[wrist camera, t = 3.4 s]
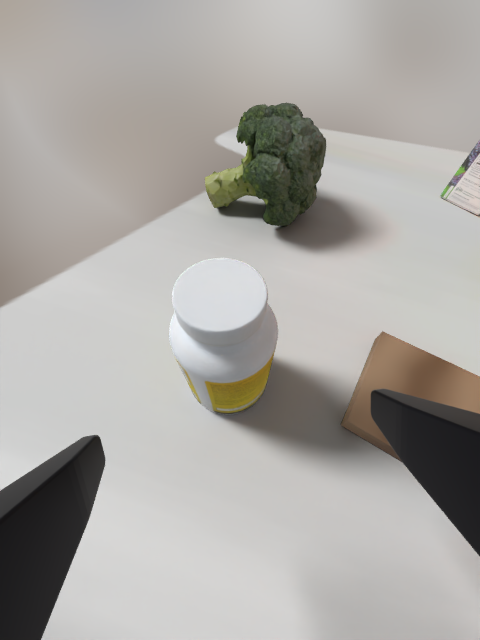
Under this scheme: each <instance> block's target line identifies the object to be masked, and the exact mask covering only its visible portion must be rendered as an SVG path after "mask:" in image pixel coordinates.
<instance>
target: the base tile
mask: <svg viewBox="0 0 480 640" xmlns="http://www.w3.org/2000/svg"><path fill="white" fill-rule="evenodd" d="M376 389H388V390H392V391H396V392H400V393H403V394H407V395H411V396H415V397H419V398H422V399H426V400H430V401H434V402H438V403H441V404H445V405H449V406H453V407H457V408H460V409H464V410H468V411H472V412H476V413H479V414H480V377H479V376H477V375H475V374H473V373H471V372H469V371H466V370H464V369H462V368H460V367H458V366H456V365H454V364H451V363H449V362H447V361H445V360H443V359H441V358H439V357H436V356H434V355H432V354H430V353H428V352H426V351H424V350H421V349H419V348H417V347H415V346H413V345H411V344H409V343H406V342H404V341H402V340H400V339H398V338H396V337H394V336H391V335H389V334H387V333H385V332H383V331H382V333H381V334H380V335H379V336H378V337H377V338H376V339H375V341H374V343H373V346H372V348H371V351H370V353H369V356H368V358H367V361H366V363H365V366H364V368H363V371H362V373H361V376H360V378H359V381H358V383H357V386H356V388H355V391H354V393H353V396H352V398H351V401H350V403H349V406H348V408H347V411H346V413H345V416H344V418H343V421H342V423H341V426H343V427H344V428H346V429H348V430H350V431H351V432H353V433H355V434H356V435H358V436H360V437H361V438H363V439H365V440H366V441H368V442H370V443H371V444H373V445H375V446H376V447H378V448H380V449H381V450H383V451H385V452H386V453H388V454H390V455H391V456H393V457H395V458H396V459H398V460H400V458H399V457H398V455H397V454H396V453H395V451H394V450H393V448H392V447H391V445H390V444H389V442H388V441H387V439H386V438H385V437H384V435H383V434H382V432H381V431H380V429H379V428H378V426H377V425H376V423H375V422H374V420H373V419H372V416H371V411H370V409H371V392H372V391H373V390H376ZM400 461H401V460H400ZM401 462H402V461H401Z"/></svg>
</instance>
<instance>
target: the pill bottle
mask: <svg viewBox="0 0 480 640" xmlns="http://www.w3.org/2000/svg"><path fill="white" fill-rule="evenodd" d="M267 300H268V291H267V286H266V283H265V281H264V279H263V277H262V276H261V275H260V274H259V272H258V271H257V270H256V269H254V268H253V267H252V266H250V265H248V264H246V263H244V262H242V261H239V260H235V259H230V258H214V259H208V260H204V261H201V262H199V263H196V264H194V265H192V266H191V267H189V268H188V269H186V270H185V271H184V272H183V273H182V274H181V275H180V276H179V278H178V279H177V281H176V283H175V285H174V287H173V292H172V303H173V307H174V310H175V312H174V315H173V317H172V320H171V323H170V329H169V339H170V345H171V348H172V351H173V354H174V356H175V358H176V360H177V362H178V364H179V366H180V368H181V370H182V372H183V374H184V376H185V378H186V380H187V382H188V384H189V386H190V388H191V390H192V393H193V394H194V396H195V398H196V399H197V400H198V402H199V403H200V404H201V405H202V406H204V407H205V408H206V409H208V410H210V411H212V412H215V413H218V414H224V415H232V414H237V413H241V412H243V411H245V410H247V409H249V408H250V407H252V406H253V405H254V404H255V403H256V402H257V401H258V400H259V399H260V397H261V396H262V394H263V392H264V390H265V387H266V384H267V380H268V376H269V371H270V368H271V364H272V360H273V356H274V352H275V348H276V344H277V338H278V326H277V321H276V318H275V315H274V313H273V311H272V309H271V307H270V306H269V305H268V303H267Z"/></svg>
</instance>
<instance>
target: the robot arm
mask: <svg viewBox="0 0 480 640" xmlns="http://www.w3.org/2000/svg"><path fill="white" fill-rule="evenodd" d="M370 411H371V416H372V419H373V420H374V422H375V423H376V425H377V426H378V428H379V429H380V431H381V432H382V434H383V435H384V437H385V438H386V439H387V441H388V442H389V444H390V445H391V447H392V448H393V450H394V451H395V453H396V454H397V455H398V457H399V458H400V460H401V461H402V462H403V463H404V465H405V466H406V467H407V468H408V470H409V471H410V472H411V473H412V474H413V476H414V477H415V478H416V479H417V481H418V482H419V483H420V484H421V485H422V487H423V488H424V489H425V490H426V492H427V493H428V494H429V495H430V496H431V498H432V499H433V500H434V501H435V502H436V504H437V505H438V506H439V507H440V509H441V510H442V511H443V512H444V513H445V515H446V516H447V517H448V518H449V520H450V521H451V522H452V523H453V524H454V526H455V527H456V528H457V529H458V530H459V532H460V533H461V534H462V535H463V537H464V538H465V539H466V540H467V541H468V543H469V544H470V545H471V546H472V548H473V549H474V550H475V551H476V552H477V554H478V555H479V556H480V414H479V413H476V412H472V411H468V410H464V409H460V408H457V407H453V406H449V405H445V404H441V403H438V402H434V401H430V400H426V399H422V398H419V397H415V396H411V395H407V394H403V393H400V392H396V391H392V390H388V389H376V390H373V391H372V392H371V409H370ZM104 467H105V455H104V451H103V447H102V443H101V439H100V437H99V436H98V435H92V436H86V437H83V438H81V439H80V440H78V441H77V442H75V443H73V444H72V445H70V446H69V447H67V448H66V449H64V450H63V451H61V452H60V453H58V454H56V455H55V456H53V457H52V458H50V459H49V460H47V461H46V462H44V463H42V464H41V465H39V466H38V467H36V468H35V469H33V470H32V471H30V472H29V473H27V474H25V475H24V476H22V477H21V478H19V479H18V480H16V481H15V482H13V483H12V484H10V485H8V486H7V487H5V488H4V489H2V490H1V491H0V640H41V638H42V636H43V633H44V631H45V628H46V626H47V623H48V621H49V618H50V616H51V613H52V611H53V608H54V606H55V603H56V601H57V598H58V595H59V593H60V590H61V588H62V585H63V583H64V580H65V578H66V575H67V573H68V570H69V568H70V565H71V563H72V560H73V558H74V555H75V553H76V550H77V548H78V545H79V543H80V540H81V538H82V535H83V533H84V530H85V528H86V525H87V523H88V520H89V517H90V514H91V511H92V508H93V504H94V501H95V497H96V494H97V491H98V487H99V484H100V480H101V477H102V473H103V470H104Z"/></svg>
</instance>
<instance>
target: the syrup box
mask: <svg viewBox="0 0 480 640" xmlns="http://www.w3.org/2000/svg"><path fill="white" fill-rule="evenodd" d="M440 196H441V197H442V198H443V199H445V200H447V201H449V202H451V203H453V204H455V205H457V206H459V207H461V208H463V209H465V210H468V211H470V212H472V213H474V214H476V215H480V140H479V142H478V143H477V144H476V146H475V147H474V149H473V150H472V151H471V153H470V154H469V156H468V157H467V158H466V160H465V161H464V163H463V164H462V165H461V167H460V168H459V170H458V171H457V172H456V174H455V175H454V177H453V178H452V180H451V181H450V182H449V184H448V185H447V186H446V188H445V189H444V191H443V192H442V193H441V195H440Z"/></svg>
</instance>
